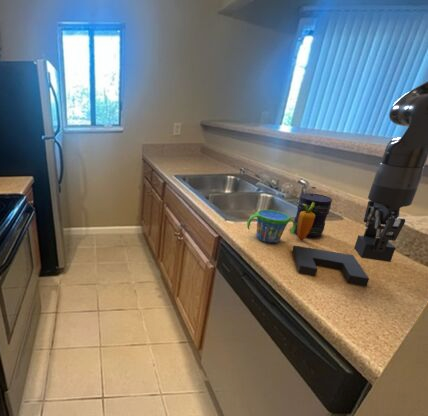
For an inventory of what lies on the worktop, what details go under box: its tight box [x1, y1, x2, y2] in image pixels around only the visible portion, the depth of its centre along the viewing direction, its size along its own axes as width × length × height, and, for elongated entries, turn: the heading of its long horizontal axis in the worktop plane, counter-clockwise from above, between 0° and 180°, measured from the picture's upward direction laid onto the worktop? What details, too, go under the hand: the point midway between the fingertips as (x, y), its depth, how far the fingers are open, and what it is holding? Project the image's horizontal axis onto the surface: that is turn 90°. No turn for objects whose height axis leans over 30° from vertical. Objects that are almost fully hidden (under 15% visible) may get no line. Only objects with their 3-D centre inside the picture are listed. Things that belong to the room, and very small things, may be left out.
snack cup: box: [246, 209, 296, 244], centre depth 102 cm, size 16×10×10 cm
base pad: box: [291, 245, 370, 287], centre depth 86 cm, size 16×14×2 cm
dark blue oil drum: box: [293, 186, 333, 240], centre depth 105 cm, size 10×10×18 cm
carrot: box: [297, 202, 315, 241], centre depth 100 cm, size 5×5×15 cm
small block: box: [353, 234, 396, 263], centre depth 71 cm, size 6×6×4 cm
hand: (372, 245), depth 71 cm, fingers closed on small block, 5 cm apart
